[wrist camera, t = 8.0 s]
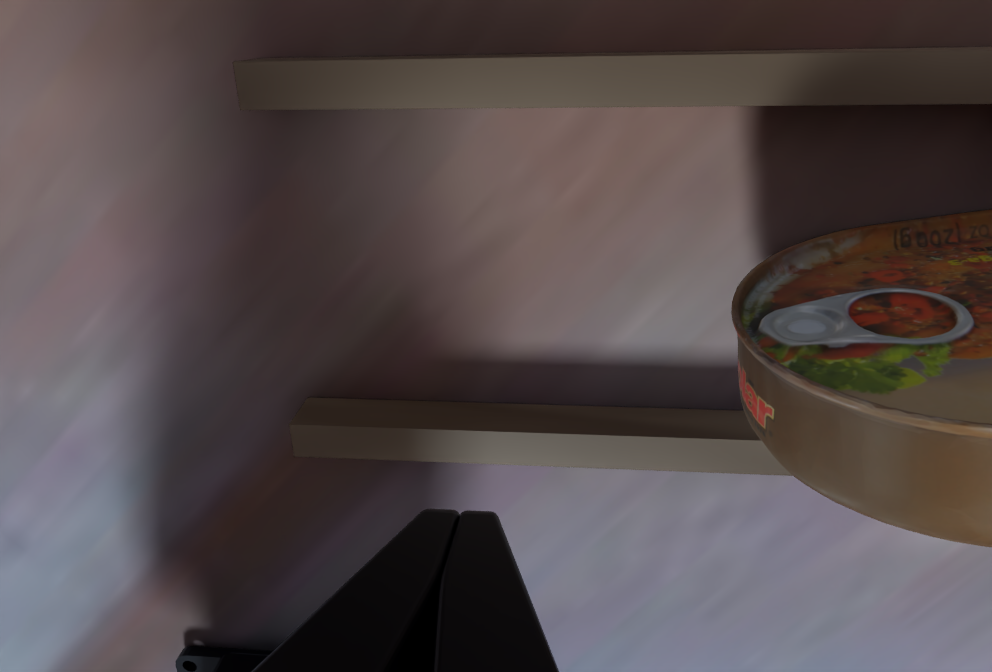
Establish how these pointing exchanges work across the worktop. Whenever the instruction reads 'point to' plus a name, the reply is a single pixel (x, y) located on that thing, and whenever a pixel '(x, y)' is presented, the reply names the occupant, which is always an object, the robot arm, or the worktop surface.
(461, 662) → the robot arm
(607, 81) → the dock
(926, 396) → the tin
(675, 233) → the worktop surface
